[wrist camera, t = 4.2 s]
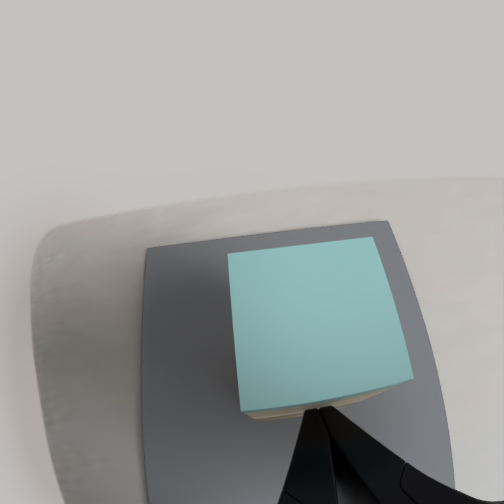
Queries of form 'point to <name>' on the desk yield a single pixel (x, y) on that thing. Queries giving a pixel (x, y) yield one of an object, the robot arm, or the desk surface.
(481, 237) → the desk surface
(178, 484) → the rubber mat
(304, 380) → the birch block
